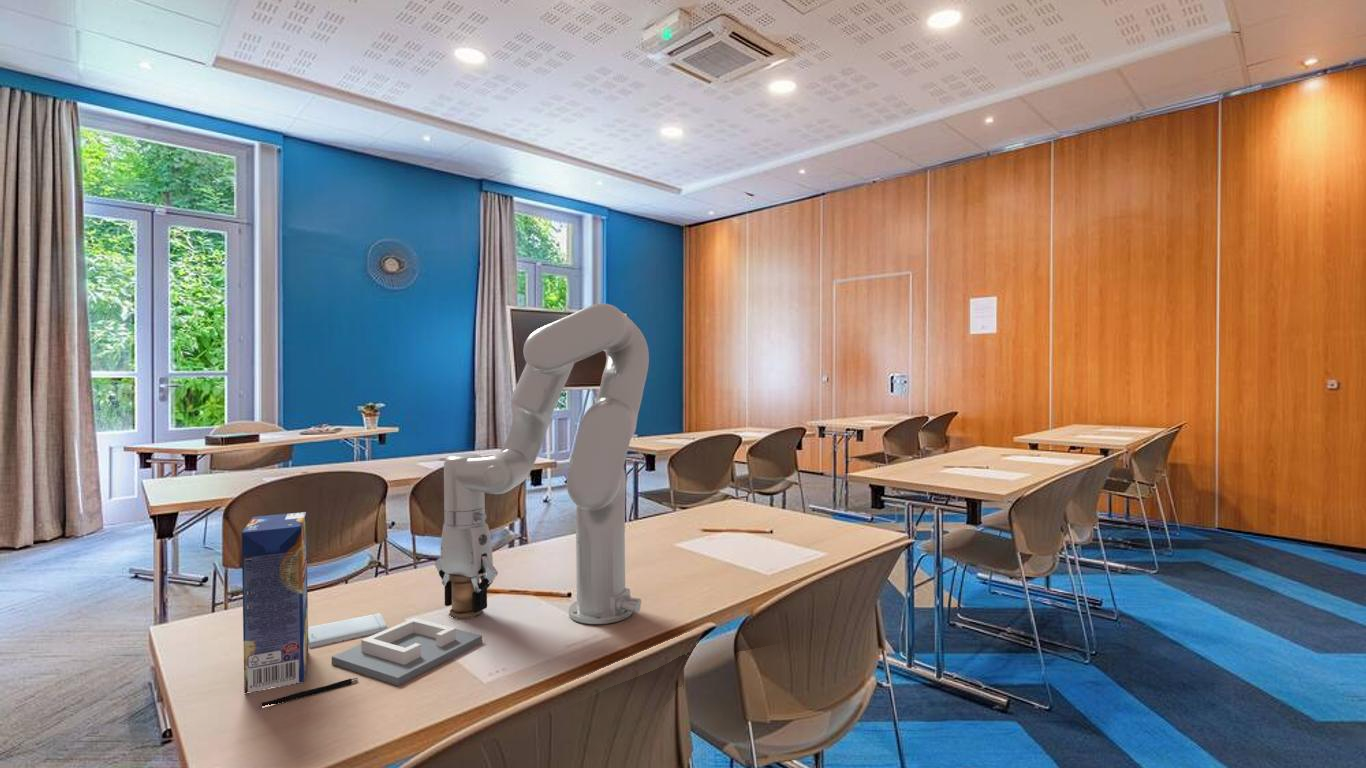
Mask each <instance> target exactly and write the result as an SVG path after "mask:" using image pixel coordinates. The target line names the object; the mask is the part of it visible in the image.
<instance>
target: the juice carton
mask: <svg viewBox="0 0 1366 768" xmlns="http://www.w3.org/2000/svg"><path fill="white" fill-rule="evenodd" d="M307 529H308V528H307V511H302V512H301V511H300V512H292V513H282V514H281V513H279V514H272V515H271V514H269V515H259V516H253V517H252V518H251V519H250V520H249V522H248V523H247V524H246V526H245V528H244V529H243V530H242V532H241V568H242V569H241V570H242V571H241V574H242V575H241V576H242V580H241V581H242V628H243V630H242V632H243V634H242V635H243V637H242V640H243V641H242V642H243V691H244V692H243V693H247V692H254V691H259V690H263V689H268V688H271V687H279V686H283V687H285V686H284V685H288V686H291V684H293V685H297V684H296V683H298V684H301V683H304V681H305V677H306V670H307V664H308V663H307V662H308V659H309V658H308V657H309V646H308V627H309V614H308V613H309V612H308V611H309V609H308V607H309V605H308V604H309V603H308V601H309V600H308V599H309V598H308V547H307V546H308V544H307V543H308V537H307V536H308V531H307ZM279 688H280V687H279ZM259 692H260V691H259ZM254 693H255V692H254Z"/></svg>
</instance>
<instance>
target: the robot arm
mask: <svg viewBox="0 0 1366 768" xmlns="http://www.w3.org/2000/svg"><path fill="white" fill-rule="evenodd" d="M648 346H649V345H648V343H647V340H646V338H645V336H644V334H643V332H642V331H641V330H640V328H639V327H638V326H637V325H636V324H635V323H634V322H633V321H632V319H630V317H628V316H627V315H626V314H625V313H624V312H623V311H621V310H620V309H619V308H618V307H616V306H615V305H613V304H609V303H602V302H600V303H595V304H591V305H589V306H587V307H584V308H582V309H580V310H577V311H575V312H573V313H571V314H569V315H566V316H564V317H562V318H560V319H557V320H555V321H552V322H551V323H548V324H545V325H543V326H541V327H540V328H537V329H536V330H533V332H532V333H530V334H529V336H528V337H527V338H526V340H525V342H524V344H523V359H524V360H525V365H524V368H523V371H522V373H521V375H520V377H519V379H518V381H517V384H516V386H515V389H514V391H513V392H512V395H511V398H510V408H511V412H512V421H511V425H510V429H509V432H508V434H507V437H506V439H505V441H504V443H503V446H502V447H501V449H500V452H498V453H496V454H494V455H490V456H481V455H480V454H477V453H459V454H451V455H448V456H447V457H446V458H445V459H444V462H443V497H444V498H443V500H444V501H443V505H444V506H443V507H444V508H443V509H444V512H443V513H444V517H443V518H444V523H443V526H442V531H441V532H442V533H441V539H440V554H439V555H440V556H439V557H438V558H437V559H436V560H435V562H434V566H435V568H436V570H437V571H438V575H439V577H440V578H441V585H443V586H444V606H445V607H450V606H452V581H450V580H449V574H453V575H458V576H463V577H468V578H471V581H472V583H473V586H474V589H475V591H474V592H473V593H472V605H473V612H475V613H477V612H479V611H481V610H482V611H483V610H486V609H487V608H488V589H489V588H490V586H491V585H492V583H494V580H495V579H496V577H497V576H498V574H499V573H498V570H497V569H496V567H494V561H493V559H494V558H493V545H492V538H491V532H490V528H489V525H488V523H486V519H487V517H488V515H487V513H486V510H485V508H486V507H485V504H486V503H485V496H486V495H485V494H491V495H502V494H505V493H507V492H510V491H511V490H513V489H514V488H515V487H517V486H519V485H520V484H523V482H524V481H526V480H527V478H528V477H529V475H530V473H531V472H532V469H533V467H534V465H535V462H536V460H537V459H538V456H539V455H540V451H541V449H542V446H543V444H544V441H545V438H546V435H547V432H548V429H549V426H550V424H551V419H552V415H553V413H554V411H555V408H556V406H557V404H558V401H559V399H560V397H561V395H562V393H563V390H564V388H565V385H566V384H567V381H568V379H569V378H570V374H571V373H572V372H571V371H572V370H573V368H574V365H575V363H578V362H579V361H582V360H585V359H587V358H589V357H592V356H593V355H596V354H598V353H601V352H605V357H606V362H605V366H604V370H603V372H602V376H601V379H600V381H601V382H600V386H599V390H598V394H597V397H596V401H595V403H594V404H593V405H591V406H590V407H589V408H588V409H587V410H586V412H585V414H584V415H583V416H582V419H581V421H580V424H579V425H580V426H579V428H578V432H577V437H576V440H575V444H574V449H573V451H572V452H573V453H572V456H571V461H570V465H569V468H568V474H567V479H566V490H567V493H568V496H569V499H570V501H572V503H574V504H575V505H576V514H575V515H576V516H575V518H576V519H575V520H576V521H575V526H576V527H575V531H576V533H575V541H576V542H575V547H576V548H575V549H576V550H575V554H576V558H575V559H576V560H575V561H576V562H575V563H576V564H575V566H576V601H574V602H573V603H572V604H571V605H570V606H569V608H568V615H569V617H570V619H572V620H573V621H574V622H577V623H581V624H587V625H607V624H611V623H612V624H613V623H617V622H620V621H623V620H625V619H627V618H629V617H630V616H631V615H632V614H634V613H635V614H639V612H640V611H641V605H642V599H641V598H639V597H638V598H637V597H632V596H631V588H627V587H626V541H625V540H626V535H625V533H626V521H625V520H626V491H627V490H626V489H627V487H626V485H627V482H626V481H627V478H626V471H625V467H624V466H625V464H626V459H627V455H628V451H629V447H630V444H631V440H632V438H633V437H634V436H635V433H636V429H637V423H638V417H639V412H640V407H641V404H642V399H643V397H644V396H643V395H644V388H645V384H646V380H647V376H648V371H649V365H650V362H649V361H650V354H649V347H648ZM478 571H479V574H478ZM479 577H480V578H479ZM478 578H479V580H480V584H479V581H478Z"/></svg>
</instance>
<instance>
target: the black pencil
mask: <svg viewBox="0 0 1366 768" xmlns="http://www.w3.org/2000/svg"><path fill="white" fill-rule="evenodd" d="M357 682H359V679H358V677H354V678H348V679H345V680H341V681H336V682H334V683H331V684H328V685H325V686H319V687H315V688H311V689H306V690H304V691H300V692H294V693H292V694H289V695H288V694H287V695H286V696H285V695H284V696H282V697H278V698H274V699H271V700H267V701H263V702H261V703H260V704H261V707H262V706H265V705H268V704H269V705H271V704H278V703H281V704H283V703H282V702H284V703H286V701H287V702H290V701H293V699H294V700H297V699H296V698H298V699H301V697H302V698H306V697H310V696H313V695H317V694H323V693H325V692H328V691H329V692H330V691H333V690H335V689H339V688H341V687H345V686H349V685H352V684H356V683H357ZM305 696H306V697H305ZM278 705H279V704H278Z"/></svg>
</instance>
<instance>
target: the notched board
mask: <svg viewBox="0 0 1366 768" xmlns="http://www.w3.org/2000/svg"><path fill="white" fill-rule="evenodd" d="M482 643H483V635H482V634H477V633H473V632H469V631H466V630H461V629H457V628H456V627H453V626H452V627H451V626H448V625H445V624H441V623H437V622H432V621H428V620H424V619H421V618H417V617H413V618H411V619H408V620H406V621H403V622H401V623H399V624H395V625H394V626H392V627H389V628H387V629H386V630H384V631H382V632H379V633H375V634H371V635H369V636H368V637H365V638H361V643H360V644H359V645H358V644H357V645H356V646H354V647H351V648H349V649H346V650H344V651H342V652H339V653H338V654H337V653H336V654H335V655H332V656H331V665H334V666H337V667H340V668H342V669H347V670H348V671H349V670H350V671H353V672H355V673H358V674H361V675H364V676H367V677H370V678H373V679H375V680H379V681H382V682H386V683H388V684H392V685H394V686H400V685H402V684H404V683H406V682H408V681H410V680H411V679H413V678H416V677H417V676H419V675H422V674H423V673H425V672H427V671H430V670H431V669H433V668H435V667H437V666H439V665H441V664H443V663H445V662H447V661H449V660H451V659H452V658H455V657H457V656H458V655H461V654H463V653H464V652H466V651H468V650H471V649H472V648H473V647H476V646H477V645H478V646H479V645H481V644H482Z"/></svg>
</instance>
